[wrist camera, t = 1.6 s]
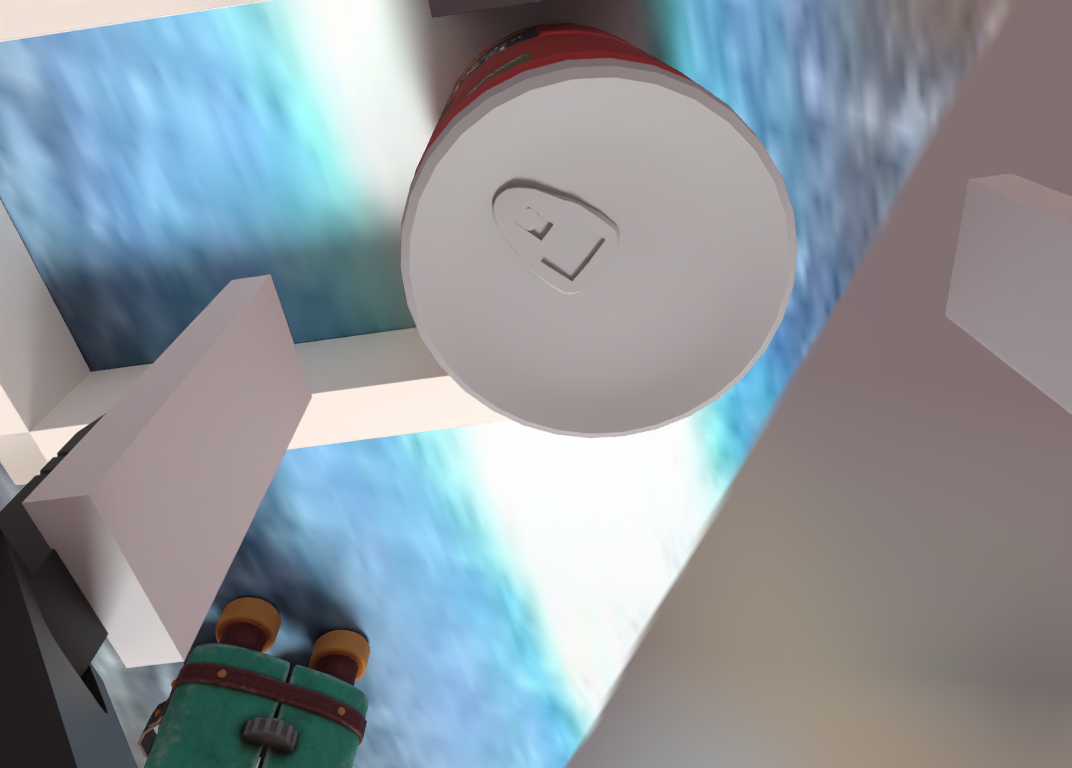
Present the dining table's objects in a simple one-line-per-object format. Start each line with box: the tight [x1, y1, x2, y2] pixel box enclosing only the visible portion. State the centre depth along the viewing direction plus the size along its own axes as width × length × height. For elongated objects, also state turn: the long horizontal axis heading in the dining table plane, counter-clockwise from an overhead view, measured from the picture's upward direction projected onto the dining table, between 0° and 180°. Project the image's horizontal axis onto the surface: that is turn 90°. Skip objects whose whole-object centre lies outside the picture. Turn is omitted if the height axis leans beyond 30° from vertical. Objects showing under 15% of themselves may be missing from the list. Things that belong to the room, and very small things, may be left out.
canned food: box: [401, 23, 797, 438], centre depth 18 cm, size 8×8×11 cm
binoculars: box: [138, 597, 370, 768], centre depth 31 cm, size 9×11×10 cm
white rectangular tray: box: [0, 0, 546, 485], centre depth 22 cm, size 15×24×4 cm, turn 97°
